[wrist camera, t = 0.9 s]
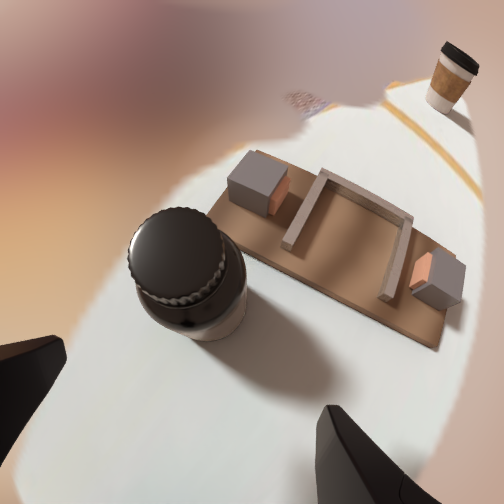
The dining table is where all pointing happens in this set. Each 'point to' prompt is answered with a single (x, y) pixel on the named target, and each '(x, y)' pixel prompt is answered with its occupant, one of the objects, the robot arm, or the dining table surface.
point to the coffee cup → (450, 78)
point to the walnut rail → (341, 243)
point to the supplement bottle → (189, 274)
